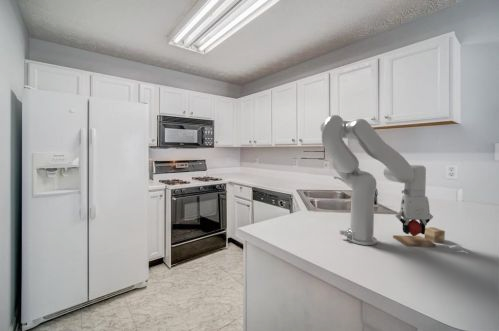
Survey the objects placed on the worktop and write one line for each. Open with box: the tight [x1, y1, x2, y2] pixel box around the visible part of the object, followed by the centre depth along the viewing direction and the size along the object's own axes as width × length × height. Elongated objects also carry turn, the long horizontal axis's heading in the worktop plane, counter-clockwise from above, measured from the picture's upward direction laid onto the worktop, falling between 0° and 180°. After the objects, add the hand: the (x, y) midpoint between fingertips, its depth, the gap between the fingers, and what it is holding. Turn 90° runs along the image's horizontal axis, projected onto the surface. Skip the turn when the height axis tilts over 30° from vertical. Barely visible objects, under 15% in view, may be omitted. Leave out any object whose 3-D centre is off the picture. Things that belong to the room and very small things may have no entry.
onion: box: [408, 220, 422, 236], centre depth 102 cm, size 6×6×8 cm
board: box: [392, 234, 437, 248], centre depth 102 cm, size 12×10×1 cm
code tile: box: [439, 244, 477, 255], centre depth 94 cm, size 8×8×1 cm
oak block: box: [424, 226, 446, 242], centre depth 104 cm, size 5×5×5 cm
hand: (413, 232), depth 102 cm, fingers closed on onion, 5 cm apart
